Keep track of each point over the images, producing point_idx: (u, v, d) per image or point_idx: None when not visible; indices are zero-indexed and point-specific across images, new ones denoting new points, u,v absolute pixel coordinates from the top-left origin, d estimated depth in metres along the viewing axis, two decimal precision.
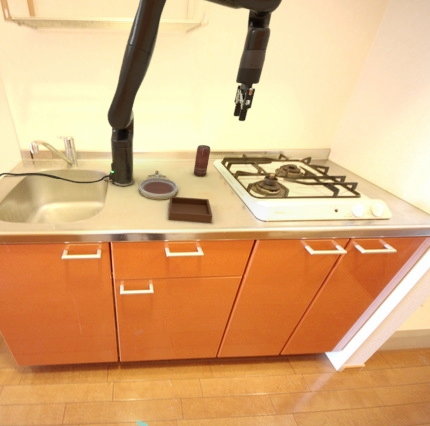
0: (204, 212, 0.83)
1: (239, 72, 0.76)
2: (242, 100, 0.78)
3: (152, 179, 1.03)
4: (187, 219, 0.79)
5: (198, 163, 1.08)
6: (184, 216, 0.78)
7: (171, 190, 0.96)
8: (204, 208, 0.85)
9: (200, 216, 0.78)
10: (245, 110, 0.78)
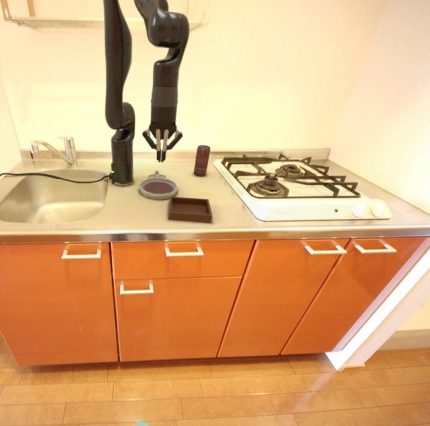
0: (204, 212, 0.83)
1: None
2: None
3: (152, 179, 1.03)
4: (187, 219, 0.79)
5: (198, 163, 1.08)
6: (184, 216, 0.78)
7: (171, 190, 0.96)
8: (204, 208, 0.85)
9: (200, 216, 0.78)
10: None
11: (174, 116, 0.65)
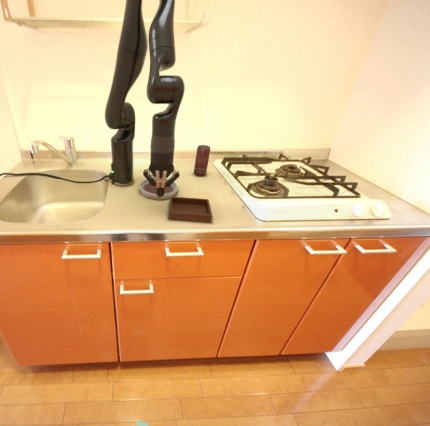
0: (204, 212, 0.83)
1: None
2: None
3: None
4: (187, 219, 0.79)
5: (198, 163, 1.08)
6: (184, 216, 0.78)
7: (171, 190, 0.96)
8: (204, 208, 0.85)
9: (200, 216, 0.78)
10: None
11: (171, 159, 0.72)
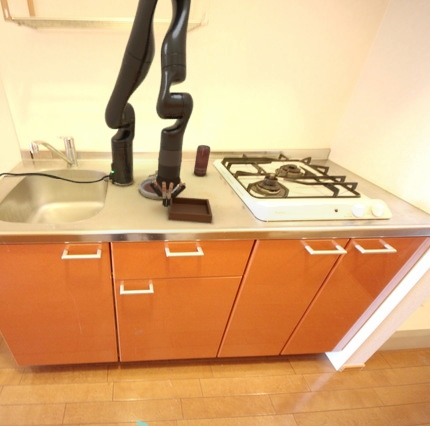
0: (204, 212, 0.83)
1: None
2: None
3: (152, 179, 1.03)
4: (187, 219, 0.79)
5: (198, 163, 1.08)
6: (184, 216, 0.78)
7: None
8: (204, 208, 0.85)
9: (200, 216, 0.78)
10: None
11: (178, 172, 0.74)
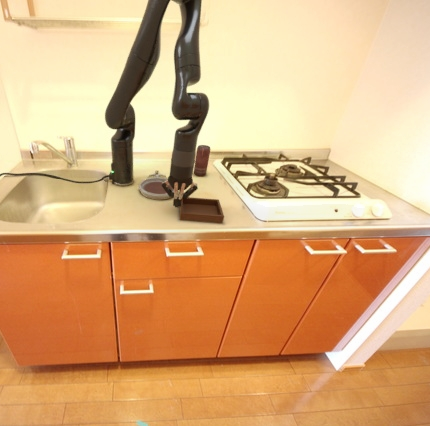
0: (215, 212, 0.83)
1: None
2: None
3: (152, 179, 1.03)
4: (198, 219, 0.79)
5: (198, 163, 1.08)
6: (195, 216, 0.78)
7: None
8: (215, 208, 0.85)
9: (212, 216, 0.78)
10: None
11: (191, 173, 0.74)
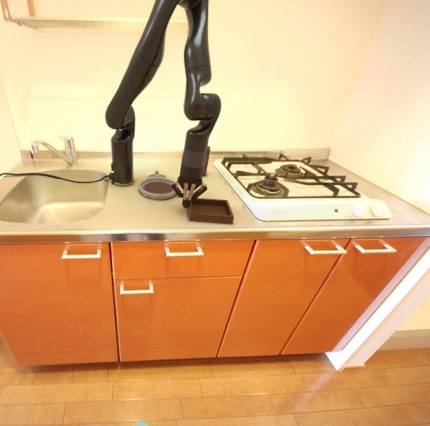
0: (224, 213, 0.83)
1: None
2: (183, 189, 0.81)
3: (152, 179, 1.03)
4: (208, 220, 0.79)
5: None
6: (205, 217, 0.78)
7: (171, 190, 0.96)
8: (223, 209, 0.85)
9: (221, 217, 0.77)
10: None
11: (201, 174, 0.73)
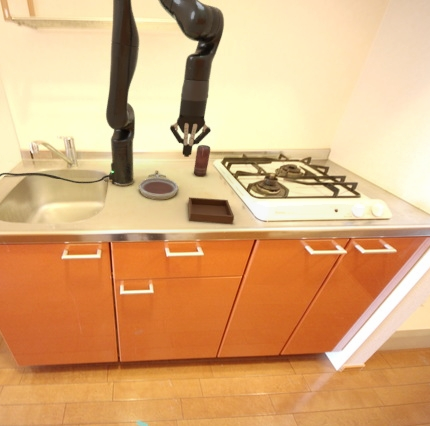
0: (224, 213, 0.83)
1: None
2: None
3: (152, 179, 1.03)
4: (208, 220, 0.79)
5: (198, 163, 1.08)
6: (205, 217, 0.78)
7: (171, 190, 0.96)
8: (223, 209, 0.85)
9: (221, 217, 0.77)
10: (183, 145, 0.73)
11: (204, 110, 0.65)
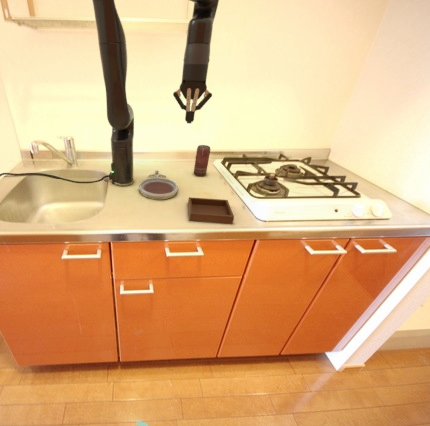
0: (224, 213, 0.83)
1: None
2: (186, 101, 0.76)
3: (152, 179, 1.03)
4: (208, 220, 0.79)
5: (198, 163, 1.08)
6: (205, 217, 0.78)
7: (171, 190, 0.96)
8: (223, 209, 0.85)
9: (221, 217, 0.77)
10: None
11: (205, 74, 0.69)
